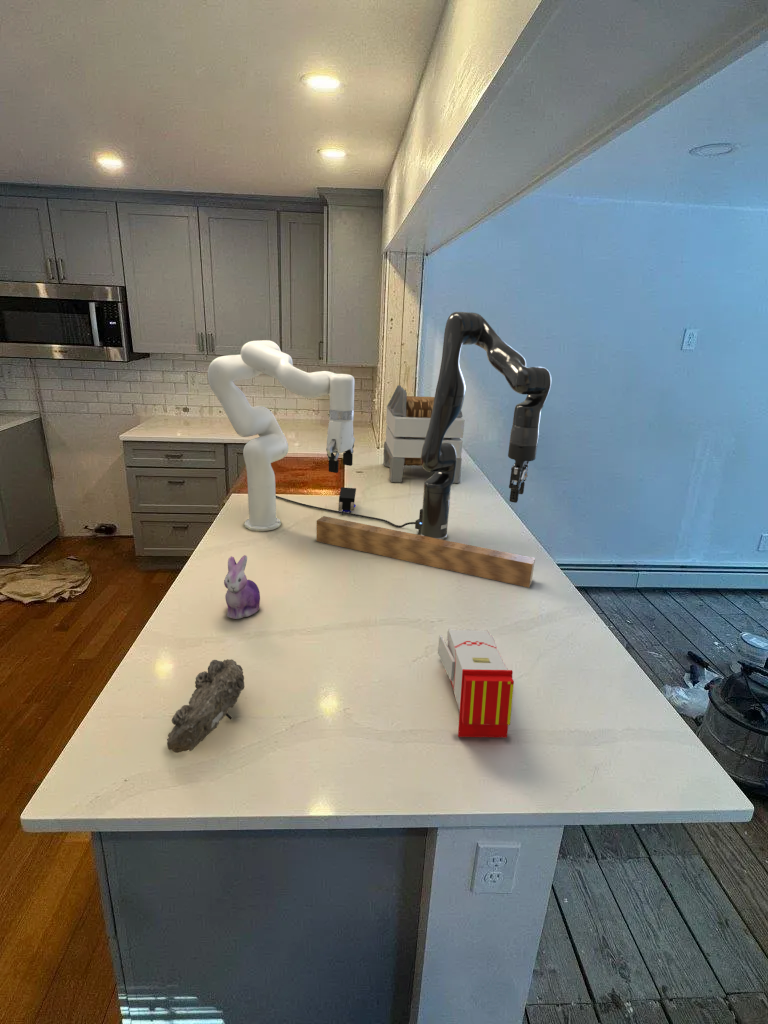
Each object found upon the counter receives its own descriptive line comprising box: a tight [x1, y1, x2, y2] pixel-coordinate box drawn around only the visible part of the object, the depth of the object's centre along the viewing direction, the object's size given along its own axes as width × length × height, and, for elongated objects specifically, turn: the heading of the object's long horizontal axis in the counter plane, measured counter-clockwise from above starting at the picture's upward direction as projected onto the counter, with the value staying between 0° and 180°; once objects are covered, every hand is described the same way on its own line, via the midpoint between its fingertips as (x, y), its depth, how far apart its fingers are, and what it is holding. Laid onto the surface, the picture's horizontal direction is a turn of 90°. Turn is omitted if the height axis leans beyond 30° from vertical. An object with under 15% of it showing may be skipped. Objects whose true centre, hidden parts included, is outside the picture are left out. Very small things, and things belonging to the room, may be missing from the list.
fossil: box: [166, 658, 245, 754], centre depth 106 cm, size 22×10×15 cm
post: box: [315, 515, 536, 588], centre depth 179 cm, size 71×5×8 cm, turn 67°
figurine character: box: [337, 486, 357, 516], centre depth 219 cm, size 7×8×15 cm
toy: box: [437, 628, 515, 738], centre depth 117 cm, size 12×13×30 cm
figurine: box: [223, 554, 261, 620], centre depth 143 cm, size 9×10×15 cm
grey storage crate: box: [383, 384, 465, 484], centre depth 268 cm, size 34×33×41 cm
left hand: (340, 468), depth 181 cm, fingers open, 9 cm apart
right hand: (516, 497), depth 161 cm, fingers open, 8 cm apart
